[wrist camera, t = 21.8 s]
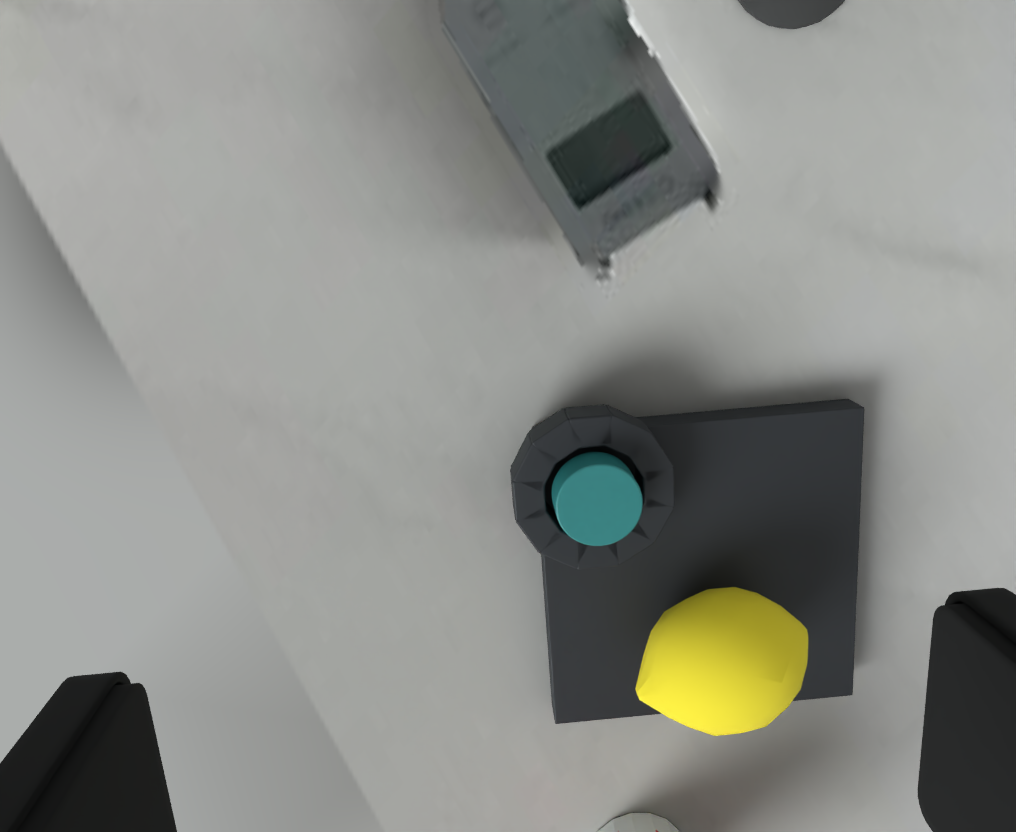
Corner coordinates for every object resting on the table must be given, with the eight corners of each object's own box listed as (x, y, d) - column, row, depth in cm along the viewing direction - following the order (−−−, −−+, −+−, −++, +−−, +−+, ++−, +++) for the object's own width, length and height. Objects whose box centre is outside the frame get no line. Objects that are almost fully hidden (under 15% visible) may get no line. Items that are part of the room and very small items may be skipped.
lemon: (762, 541, 33) (817, 605, 28) (798, 649, 35) (856, 730, 30) (602, 600, 34) (626, 675, 29) (643, 706, 35) (674, 795, 30)
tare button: (553, 533, 32) (558, 550, 30) (548, 454, 31) (552, 468, 29) (636, 526, 32) (644, 542, 30) (633, 447, 31) (641, 460, 29)
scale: (528, 707, 37) (534, 751, 34) (504, 403, 33) (507, 423, 30) (838, 677, 37) (870, 718, 34) (849, 373, 33) (886, 390, 30)
